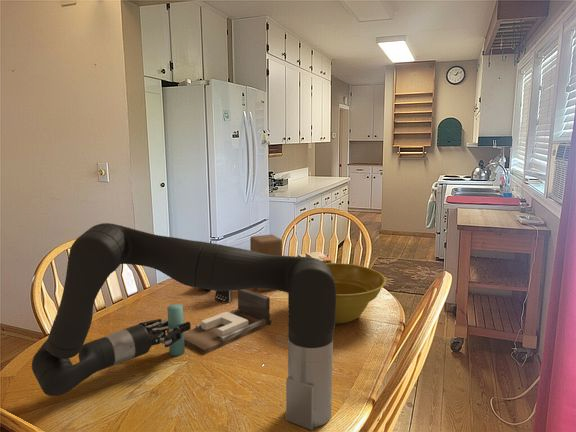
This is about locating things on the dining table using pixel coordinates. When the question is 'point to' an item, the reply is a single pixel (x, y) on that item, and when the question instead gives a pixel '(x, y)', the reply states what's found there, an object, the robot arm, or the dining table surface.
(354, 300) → the planter bowl
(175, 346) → the dowel
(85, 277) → the robot arm
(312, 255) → the stack of blocks
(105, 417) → the dining table surface
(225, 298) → the battery charger
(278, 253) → the block
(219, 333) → the carriage
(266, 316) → the rail base
